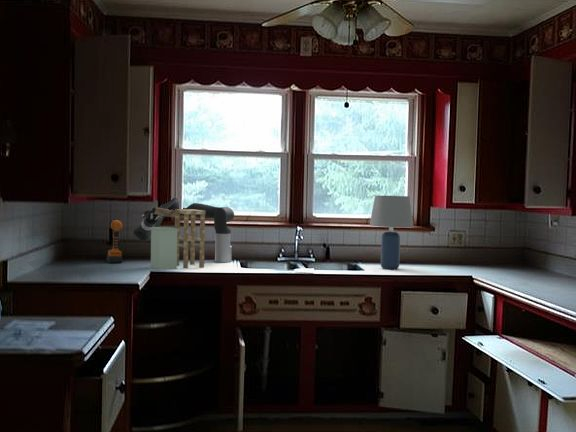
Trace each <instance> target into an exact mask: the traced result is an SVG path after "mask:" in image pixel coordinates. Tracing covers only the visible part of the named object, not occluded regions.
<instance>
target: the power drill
mask: <svg viewBox="0 0 576 432" xmlns="http://www.w3.org/2000/svg"><path fill="white" fill-rule="evenodd" d="M109 228H110V229H112V249H109V250H107V255H106V261H107V262H108V263H110V264H111V263H113V264H116V263H117V264H118V263H119V264H121V263H123V256H122V254H123V252H122V251H121V250H119V241H120V240H119V234H120V232H121V230H122V229H123V223H122V221H121V220H119V219H116V218H113V219H110V221H109Z"/></svg>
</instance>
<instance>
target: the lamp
mask: <svg viewBox="0 0 576 432" xmlns="http://www.w3.org/2000/svg"><path fill="white" fill-rule="evenodd" d="M373 199H374V200H373V204H372V205H373V206H372V208H371V209H372V211H371V215H370V222H369V226H371V227H382V228H388V231H383V233H382V235H381V241H380V242H381V246H380V267H381V268H382V269H383V270H387V269H391V271H394V269H396V270H398V269H399V268H400V257H401V256H400V255H401V235H400V233H398V232H397V231H394V228H414V222H413V220H414V219H413V214H412V213H413V211H412V204H411V198H410V196H409V195H408V196H407V195H405V196H404V195H403V196H402V195H374V198H373Z"/></svg>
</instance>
